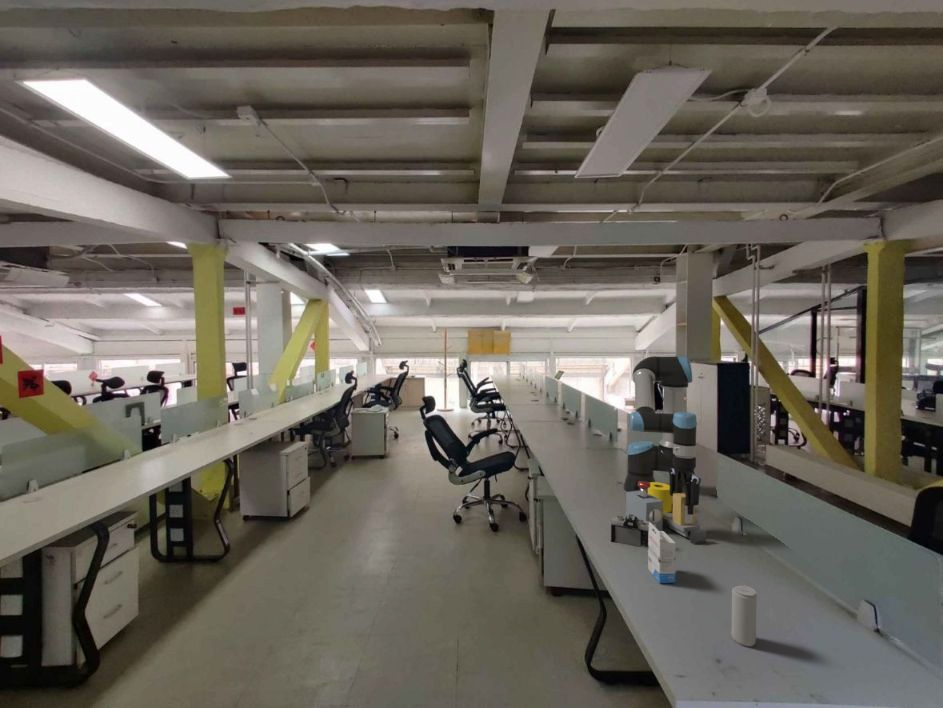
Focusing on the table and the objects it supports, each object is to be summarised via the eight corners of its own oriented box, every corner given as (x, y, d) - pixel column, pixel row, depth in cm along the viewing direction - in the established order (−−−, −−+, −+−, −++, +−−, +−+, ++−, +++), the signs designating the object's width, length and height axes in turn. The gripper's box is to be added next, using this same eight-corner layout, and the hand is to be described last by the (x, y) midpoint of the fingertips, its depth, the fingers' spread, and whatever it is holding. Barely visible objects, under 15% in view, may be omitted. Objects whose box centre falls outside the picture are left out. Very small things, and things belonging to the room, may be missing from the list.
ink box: (676, 583, 125) (677, 532, 124) (659, 583, 125) (659, 532, 124) (663, 568, 133) (663, 520, 133) (647, 568, 133) (647, 520, 133)
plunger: (645, 500, 167) (645, 480, 167) (652, 504, 163) (652, 484, 163) (635, 501, 166) (635, 481, 166) (642, 505, 162) (642, 485, 161)
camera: (658, 541, 151) (659, 513, 151) (657, 552, 143) (657, 522, 143) (612, 532, 158) (612, 505, 158) (608, 542, 150) (608, 514, 150)
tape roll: (640, 505, 185) (640, 483, 184) (659, 502, 188) (659, 481, 188) (657, 514, 175) (657, 491, 175) (677, 511, 178) (677, 488, 178)
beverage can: (726, 634, 103) (727, 584, 103) (745, 633, 103) (746, 583, 103) (740, 648, 98) (741, 596, 98) (760, 647, 98) (761, 595, 98)
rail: (660, 516, 172) (660, 506, 172) (705, 542, 150) (705, 531, 150) (649, 518, 171) (649, 508, 171) (693, 544, 149) (694, 532, 149)
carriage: (683, 525, 162) (683, 490, 161) (699, 534, 154) (700, 497, 154) (667, 527, 160) (667, 492, 160) (683, 537, 152) (683, 499, 152)
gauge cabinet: (641, 518, 171) (641, 490, 171) (664, 531, 159) (664, 502, 158) (625, 519, 169) (626, 492, 169) (647, 534, 157) (647, 503, 157)
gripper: (659, 450, 164) (658, 512, 164) (693, 462, 147) (692, 531, 148) (675, 449, 166) (675, 510, 166) (711, 461, 149) (710, 528, 150)
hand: (683, 519), depth 157 cm, fingers closed on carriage, 4 cm apart
